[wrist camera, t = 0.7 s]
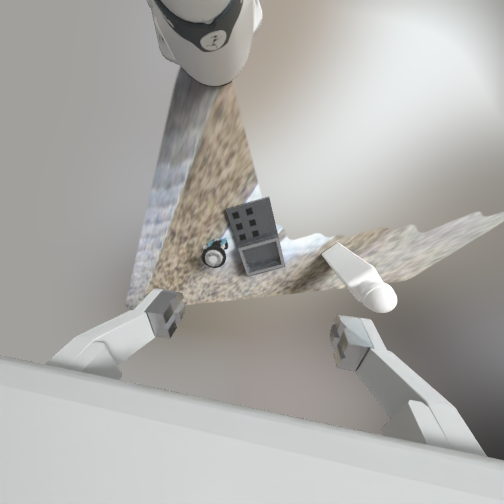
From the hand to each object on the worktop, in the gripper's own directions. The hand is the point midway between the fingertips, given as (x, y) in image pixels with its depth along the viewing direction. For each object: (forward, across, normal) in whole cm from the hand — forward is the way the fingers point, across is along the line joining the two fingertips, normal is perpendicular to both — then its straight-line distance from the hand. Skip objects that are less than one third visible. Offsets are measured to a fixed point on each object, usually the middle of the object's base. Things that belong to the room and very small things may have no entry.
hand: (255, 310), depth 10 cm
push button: (+36, +15, +16) cm, 42 cm away
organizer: (+38, +4, +14) cm, 40 cm away
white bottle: (+42, -18, +19) cm, 49 cm away
